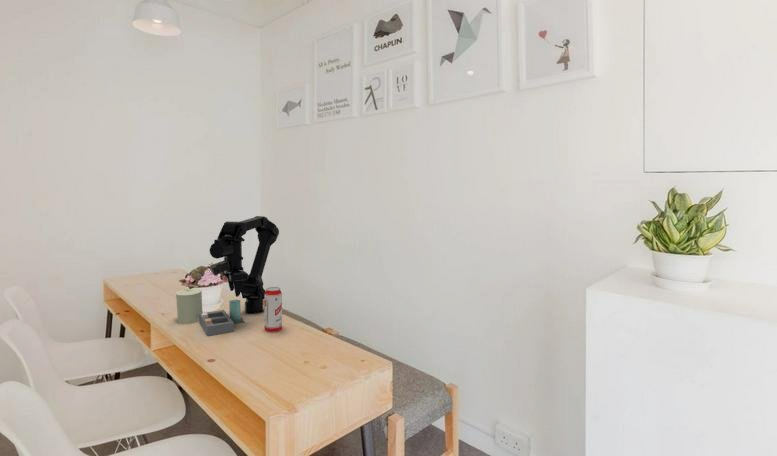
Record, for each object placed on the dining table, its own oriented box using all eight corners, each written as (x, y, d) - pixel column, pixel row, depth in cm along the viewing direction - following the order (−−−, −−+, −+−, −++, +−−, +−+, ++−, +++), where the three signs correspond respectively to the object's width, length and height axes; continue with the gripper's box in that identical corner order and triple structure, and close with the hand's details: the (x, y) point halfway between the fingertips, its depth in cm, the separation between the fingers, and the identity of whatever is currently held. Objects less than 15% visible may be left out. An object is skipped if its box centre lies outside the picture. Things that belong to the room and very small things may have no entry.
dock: (223, 319, 161) (223, 307, 161) (234, 333, 147) (234, 319, 147) (199, 323, 156) (199, 310, 156) (207, 337, 142) (207, 323, 142)
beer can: (284, 328, 153) (284, 287, 152) (278, 334, 147) (278, 291, 146) (268, 327, 154) (268, 286, 152) (261, 333, 148) (261, 290, 146)
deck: (240, 318, 163) (240, 317, 163) (245, 323, 157) (245, 322, 157) (226, 320, 160) (226, 319, 160) (230, 326, 154) (230, 324, 154)
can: (200, 314, 165) (199, 286, 164) (205, 321, 158) (204, 291, 156) (175, 319, 160) (173, 290, 159) (179, 326, 152) (177, 295, 151)
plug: (239, 318, 161) (238, 299, 160) (241, 321, 158) (241, 301, 157) (228, 320, 159) (228, 300, 158) (230, 323, 155) (230, 303, 155)
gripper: (207, 251, 159) (207, 290, 160) (216, 260, 143) (217, 302, 145) (236, 249, 165) (237, 287, 166) (248, 257, 149) (248, 298, 151)
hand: (234, 293), depth 157 cm, fingers open, 9 cm apart
